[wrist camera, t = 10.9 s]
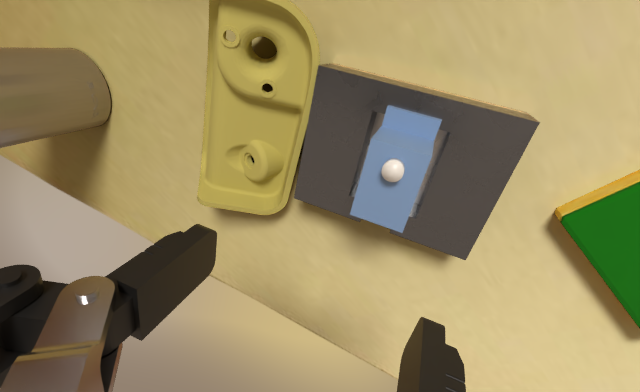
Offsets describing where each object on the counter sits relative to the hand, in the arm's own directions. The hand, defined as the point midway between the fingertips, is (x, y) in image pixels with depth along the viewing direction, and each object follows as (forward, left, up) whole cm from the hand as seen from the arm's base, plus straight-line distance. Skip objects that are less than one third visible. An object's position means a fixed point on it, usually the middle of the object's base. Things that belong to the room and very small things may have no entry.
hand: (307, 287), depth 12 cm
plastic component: (-13, 0, -21) cm, 25 cm away
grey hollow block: (+1, 0, -21) cm, 21 cm away
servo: (+1, 0, -20) cm, 20 cm away
